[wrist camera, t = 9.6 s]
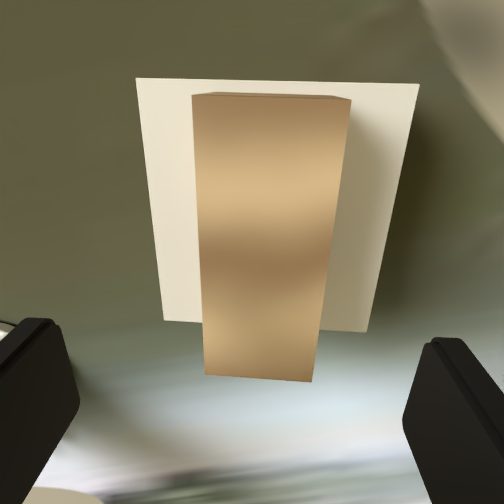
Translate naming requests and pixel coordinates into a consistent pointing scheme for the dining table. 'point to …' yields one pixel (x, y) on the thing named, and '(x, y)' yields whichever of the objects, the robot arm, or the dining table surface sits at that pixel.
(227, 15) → the dining table surface
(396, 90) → the white recessed tray
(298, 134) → the tan brown rectangular block
